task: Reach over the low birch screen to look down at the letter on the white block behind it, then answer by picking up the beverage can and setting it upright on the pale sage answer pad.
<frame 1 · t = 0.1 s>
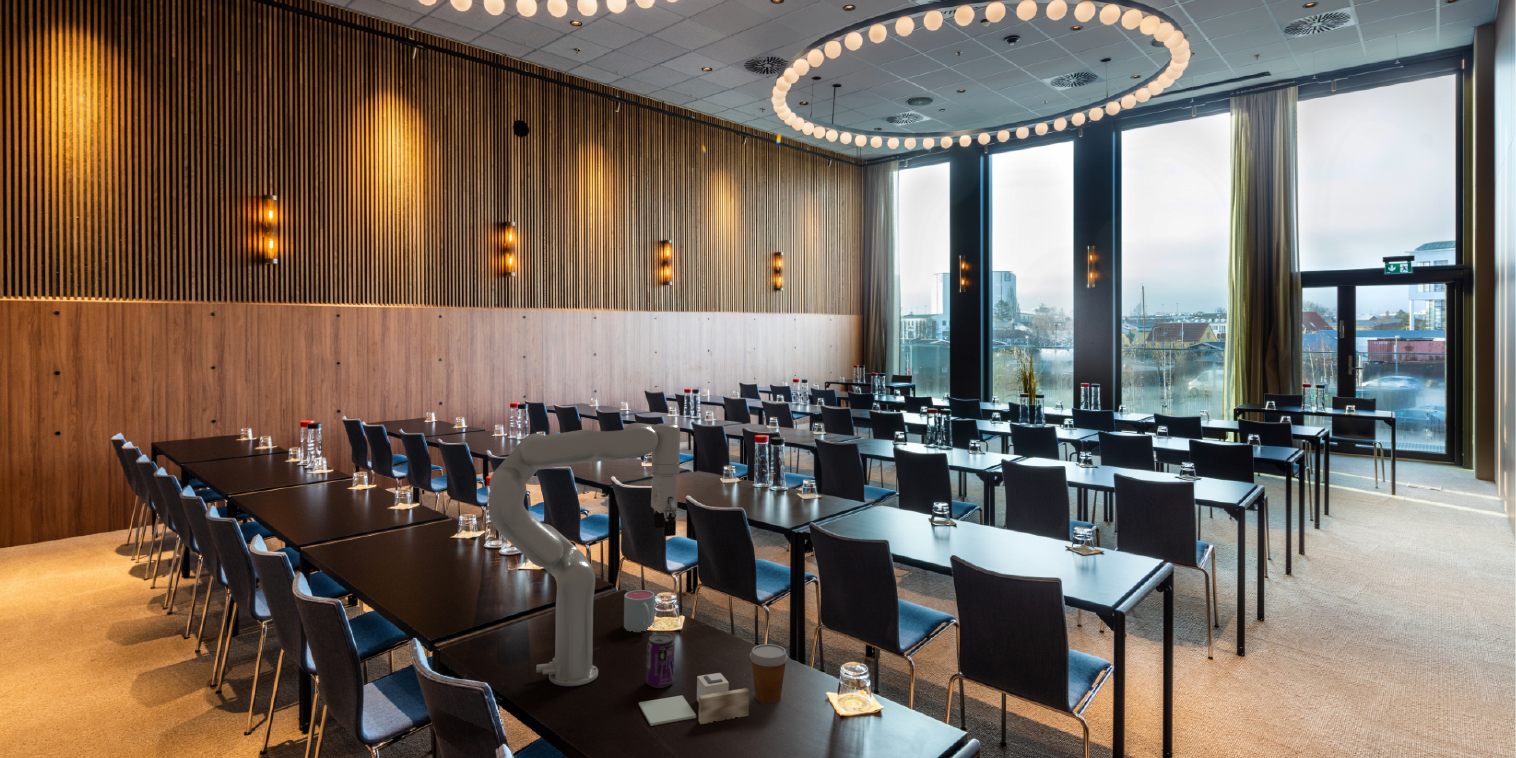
hand: (664, 531, 209), 37 cm above the table, tool pointing down, fingers open, 9 cm apart
answer pad: (667, 711, 183), on the table
mug: (641, 629, 236), on the table
disposable coffee cup: (767, 698, 191), on the table
beverage can: (660, 684, 198), on the table
letter block: (712, 703, 188), on the table
birch screen: (723, 718, 180), on the table
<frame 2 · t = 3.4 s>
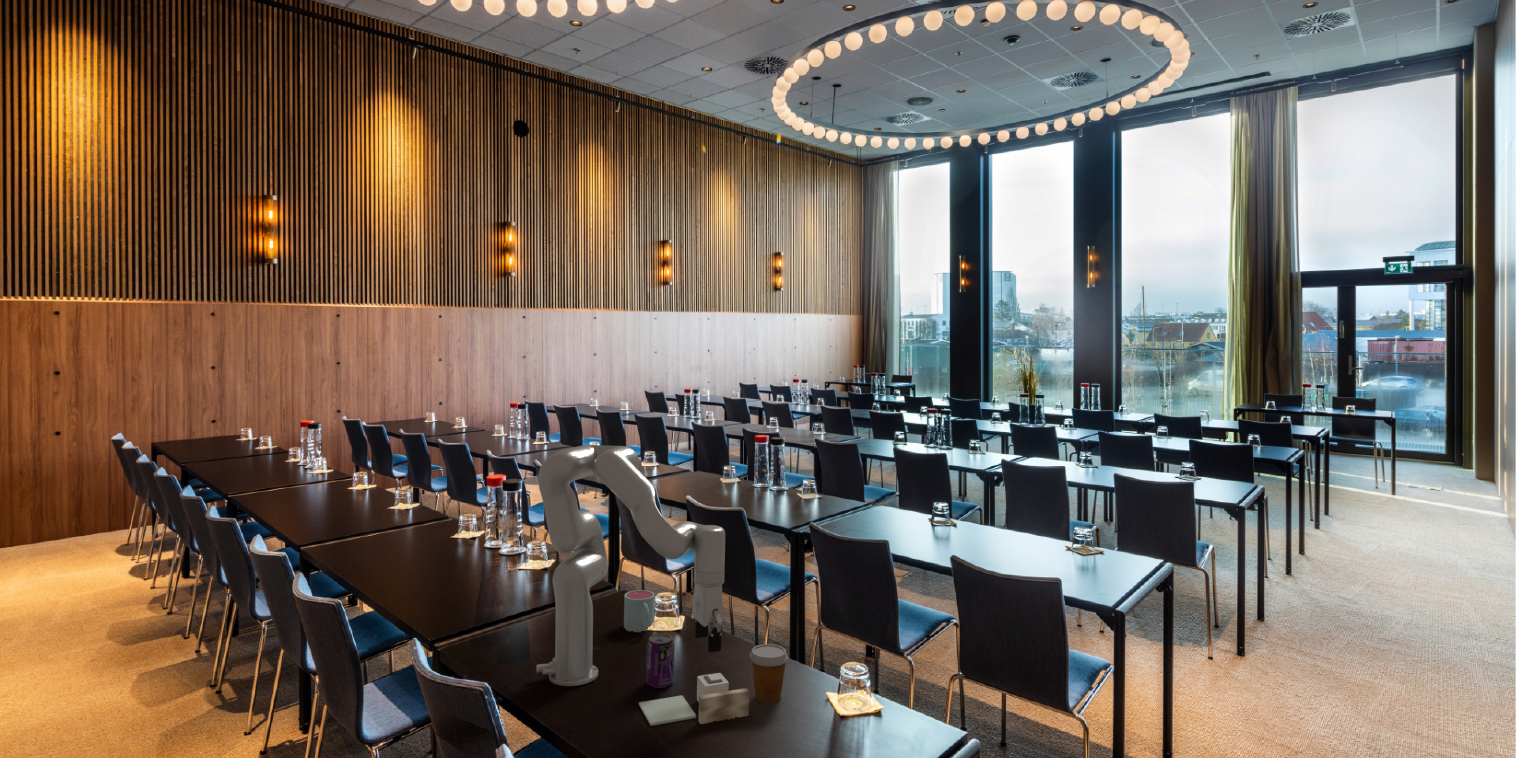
hand: (707, 643, 191), 13 cm above the table, tool pointing down, fingers open, 9 cm apart
nothing on the table moved.
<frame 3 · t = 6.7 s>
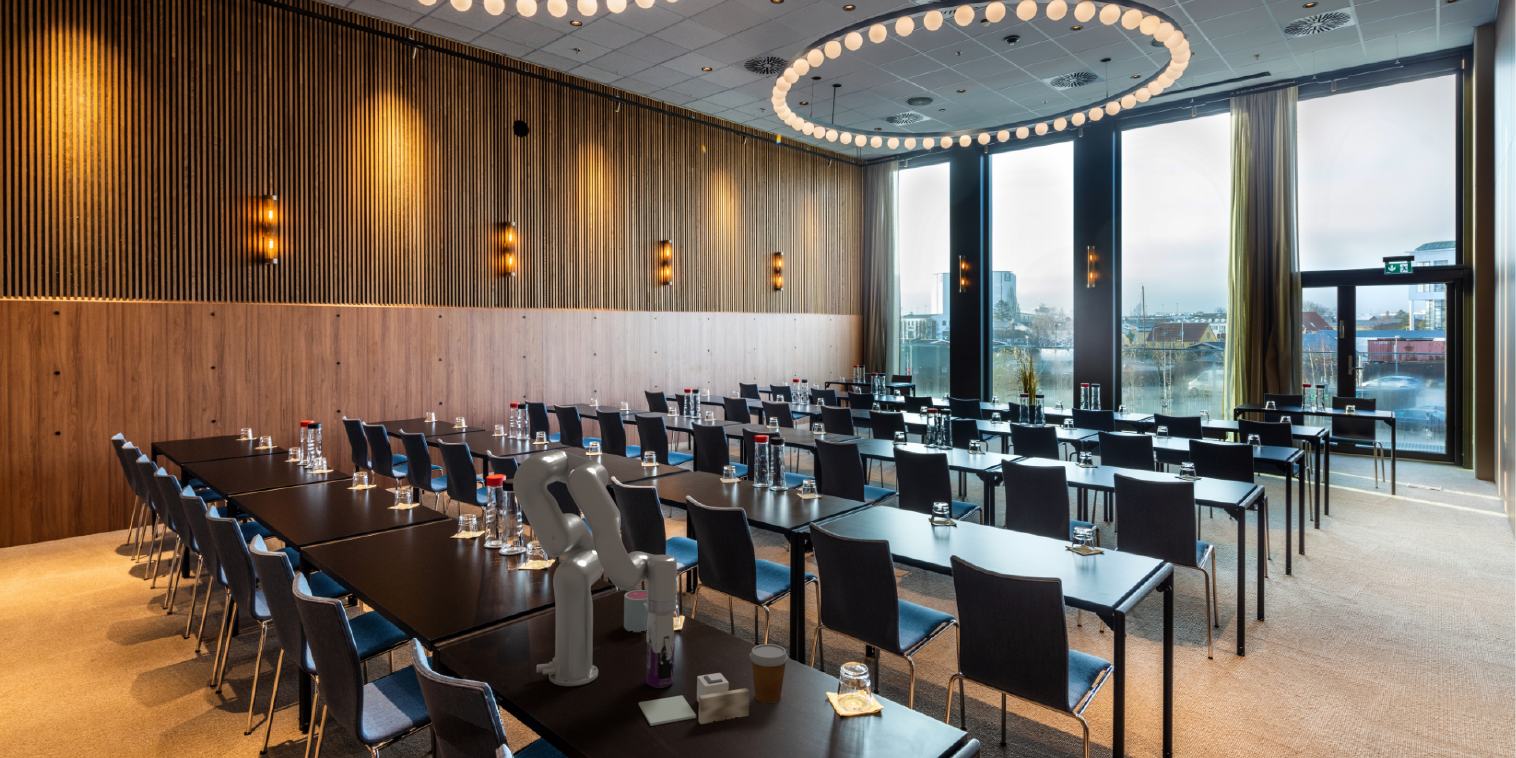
hand: (660, 671, 198), 3 cm above the table, tool pointing down, fingers closed on beverage can, 7 cm apart
beverage can: (660, 684, 198), on the table, touching gripper
everything else where it was.
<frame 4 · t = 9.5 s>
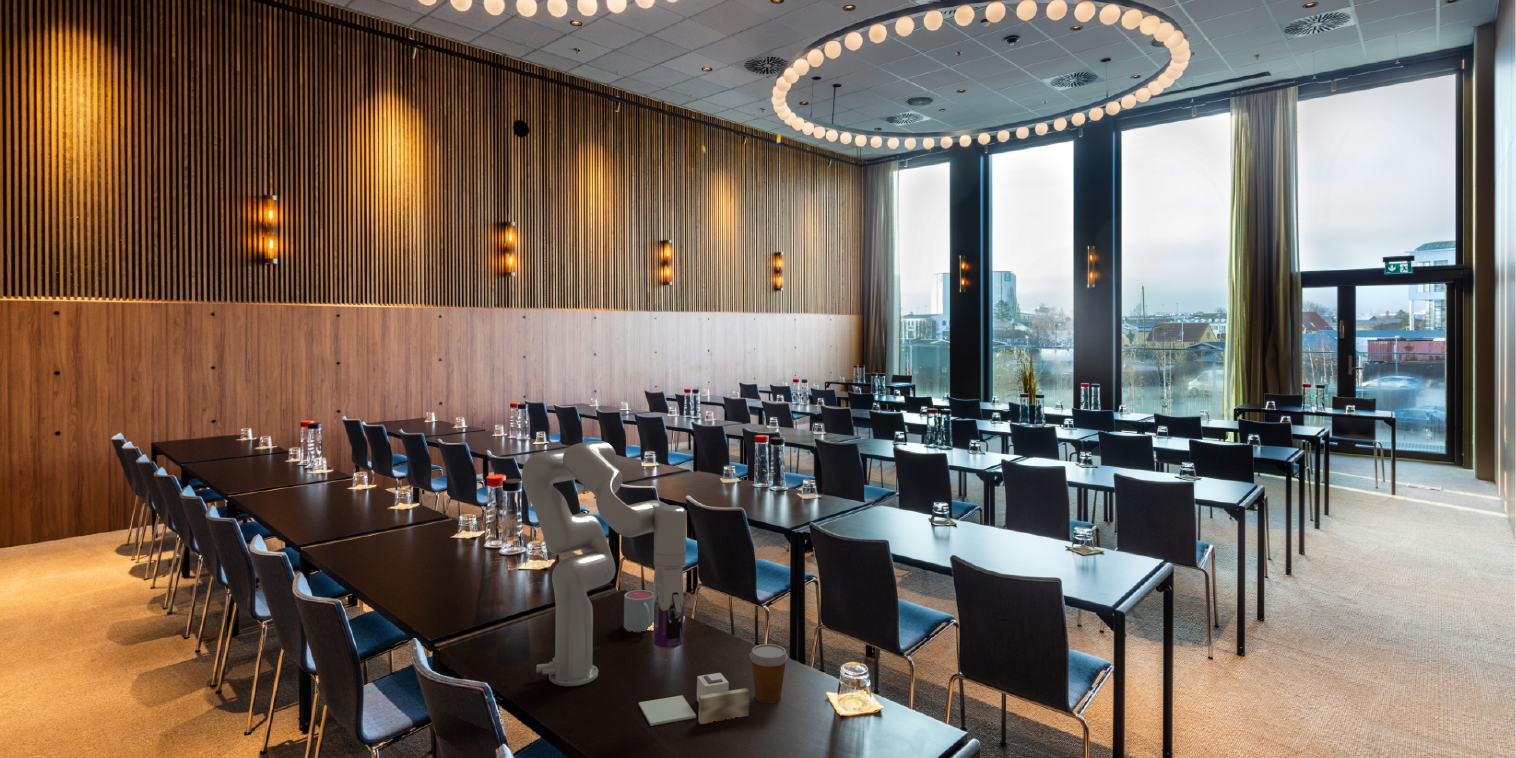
hand: (668, 631, 182), 19 cm above the table, tool pointing down, fingers closed on beverage can, 7 cm apart
beverage can: (668, 645, 182), point 16 cm above the table, touching gripper
everything else where it was.
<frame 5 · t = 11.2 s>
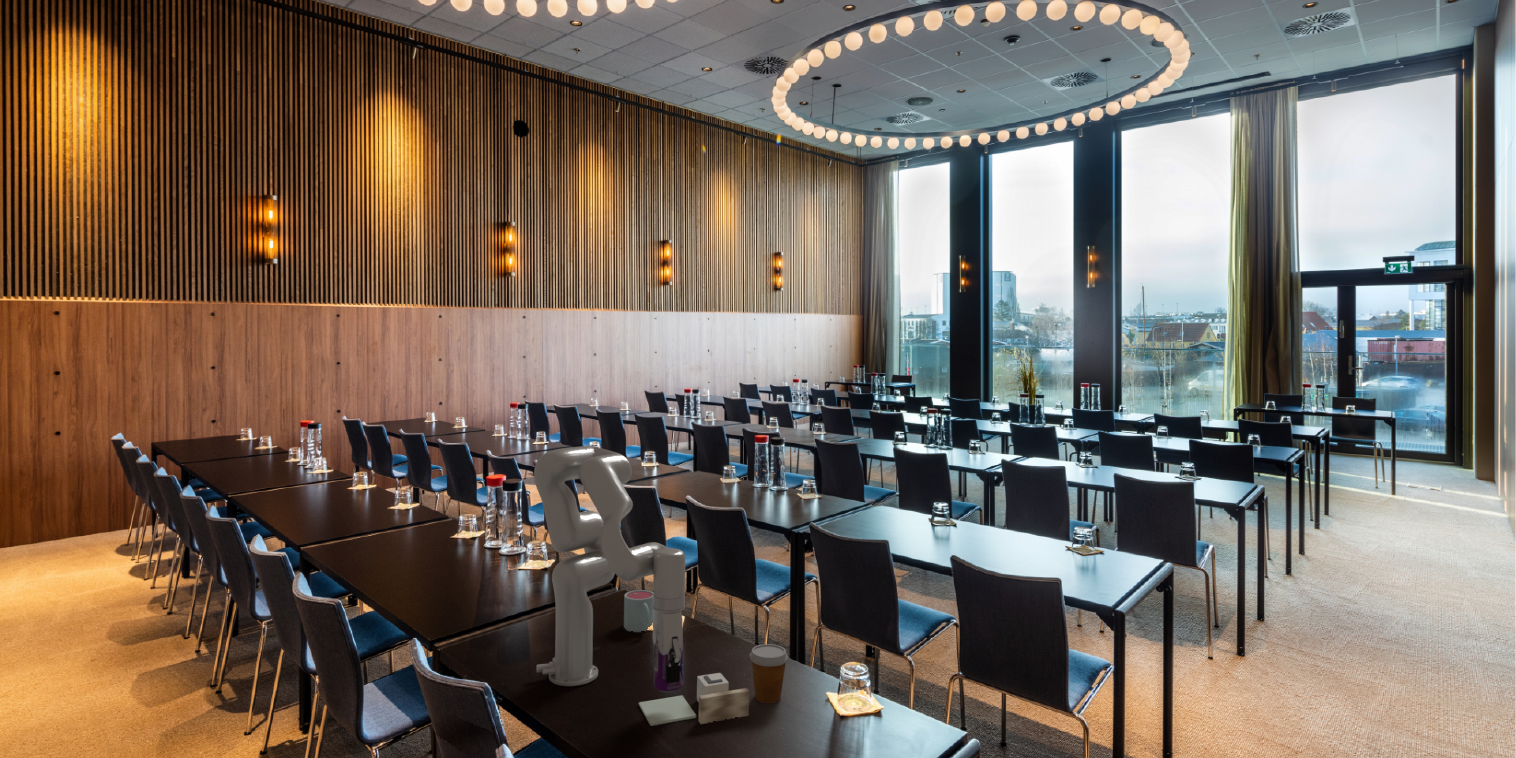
hand: (668, 674, 183), 9 cm above the table, tool pointing down, fingers closed on beverage can, 7 cm apart
beverage can: (668, 688, 183), point 5 cm above the table, touching gripper
everything else where it was.
when the fingers open (5 cm above the table, at t = 12.5 s): beverage can drops 1 cm, resting on answer pad.
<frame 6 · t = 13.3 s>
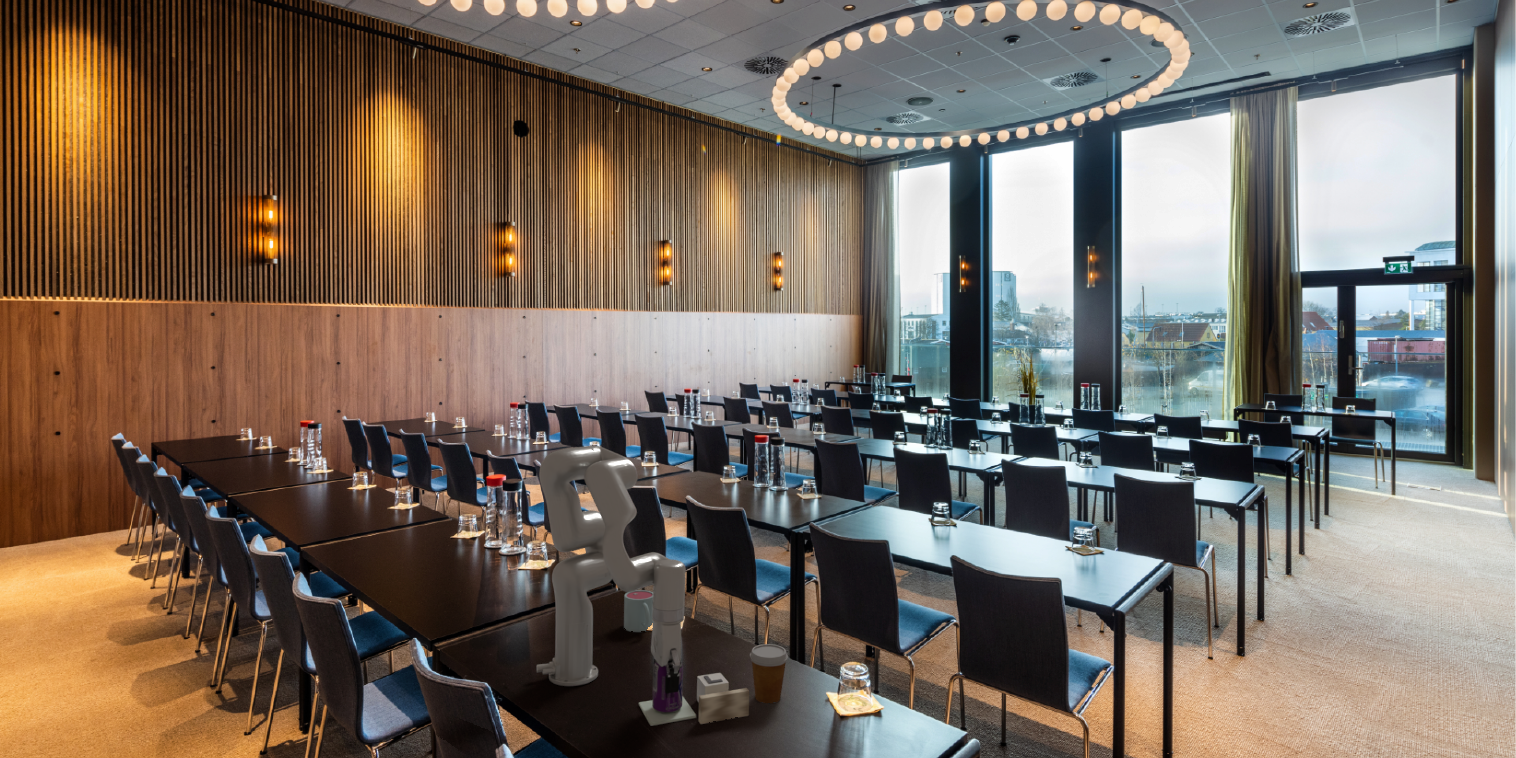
hand: (665, 683, 183), 7 cm above the table, tool pointing down, fingers open, 9 cm apart
beverage can: (667, 709, 183), resting on answer pad
everything else where it was.
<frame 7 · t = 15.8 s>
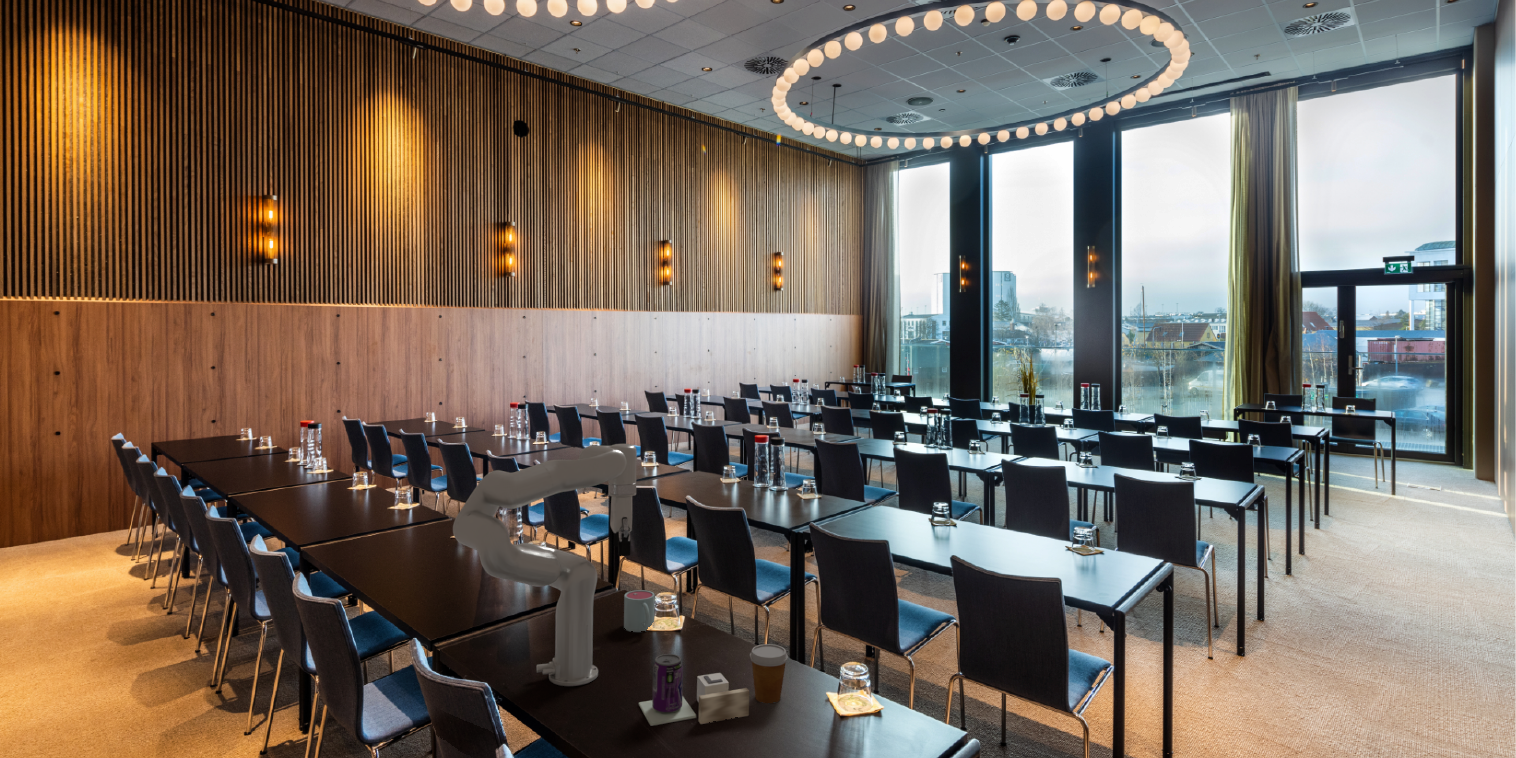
hand: (621, 550, 211), 31 cm above the table, tool pointing down, fingers open, 9 cm apart
nothing on the table moved.
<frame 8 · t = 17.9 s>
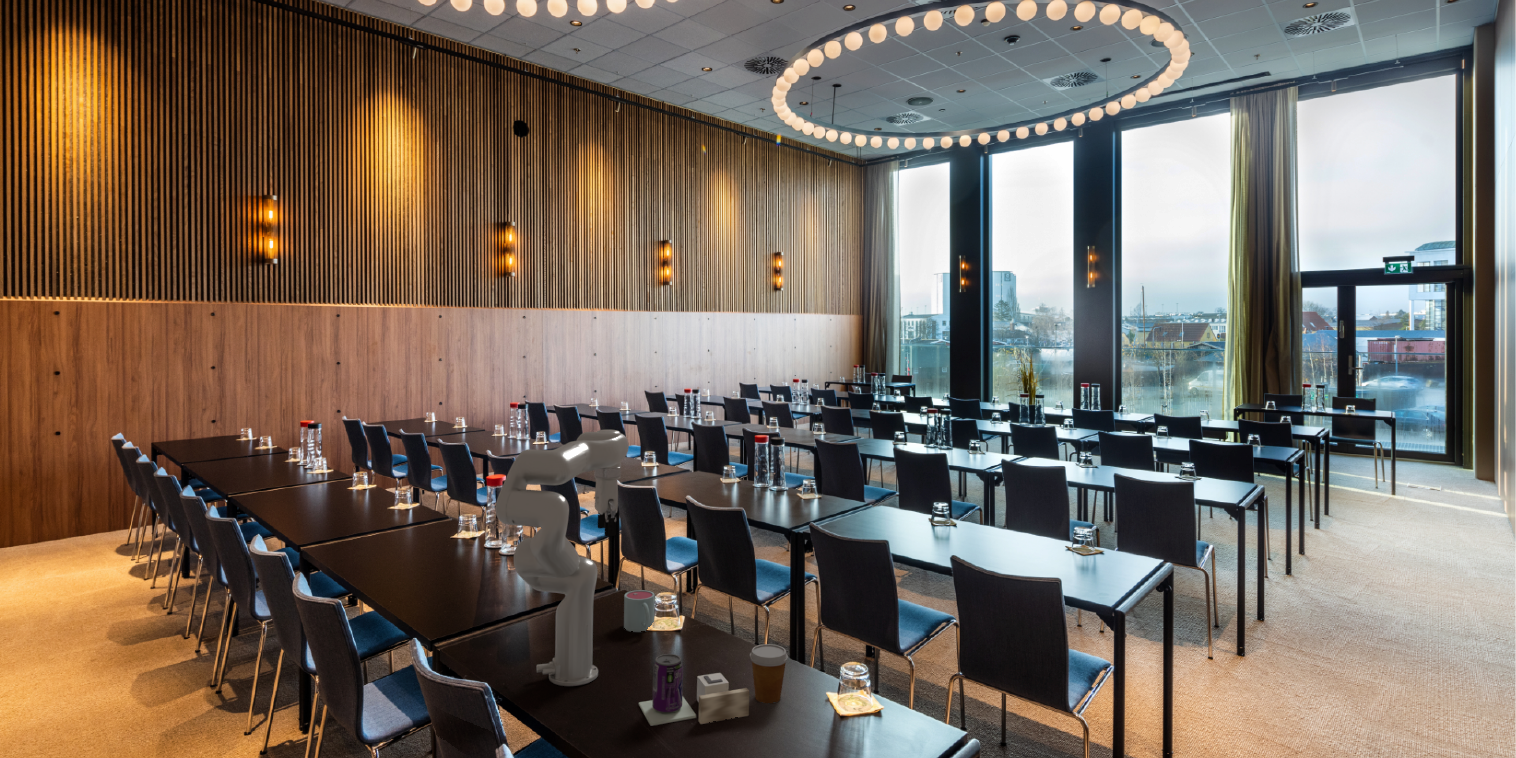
hand: (606, 531, 221), 33 cm above the table, tool pointing down, fingers open, 9 cm apart
nothing on the table moved.
at the end: beverage can inside the target area on the answer pad (0.2 cm from its centre), point 0.4 cm above the answer pad's base; beverage can tilted 0°; the gripper is holding nothing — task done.
